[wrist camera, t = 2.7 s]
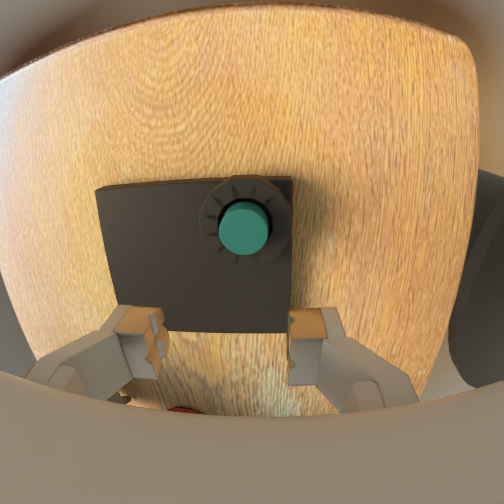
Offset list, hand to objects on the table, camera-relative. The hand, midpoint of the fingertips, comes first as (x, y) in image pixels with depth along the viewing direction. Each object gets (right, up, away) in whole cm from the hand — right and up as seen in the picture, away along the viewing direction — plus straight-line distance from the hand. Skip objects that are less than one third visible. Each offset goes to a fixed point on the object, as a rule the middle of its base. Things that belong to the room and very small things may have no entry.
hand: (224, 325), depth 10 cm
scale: (-3, +2, +14) cm, 14 cm away
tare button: (0, +4, +10) cm, 10 cm away
